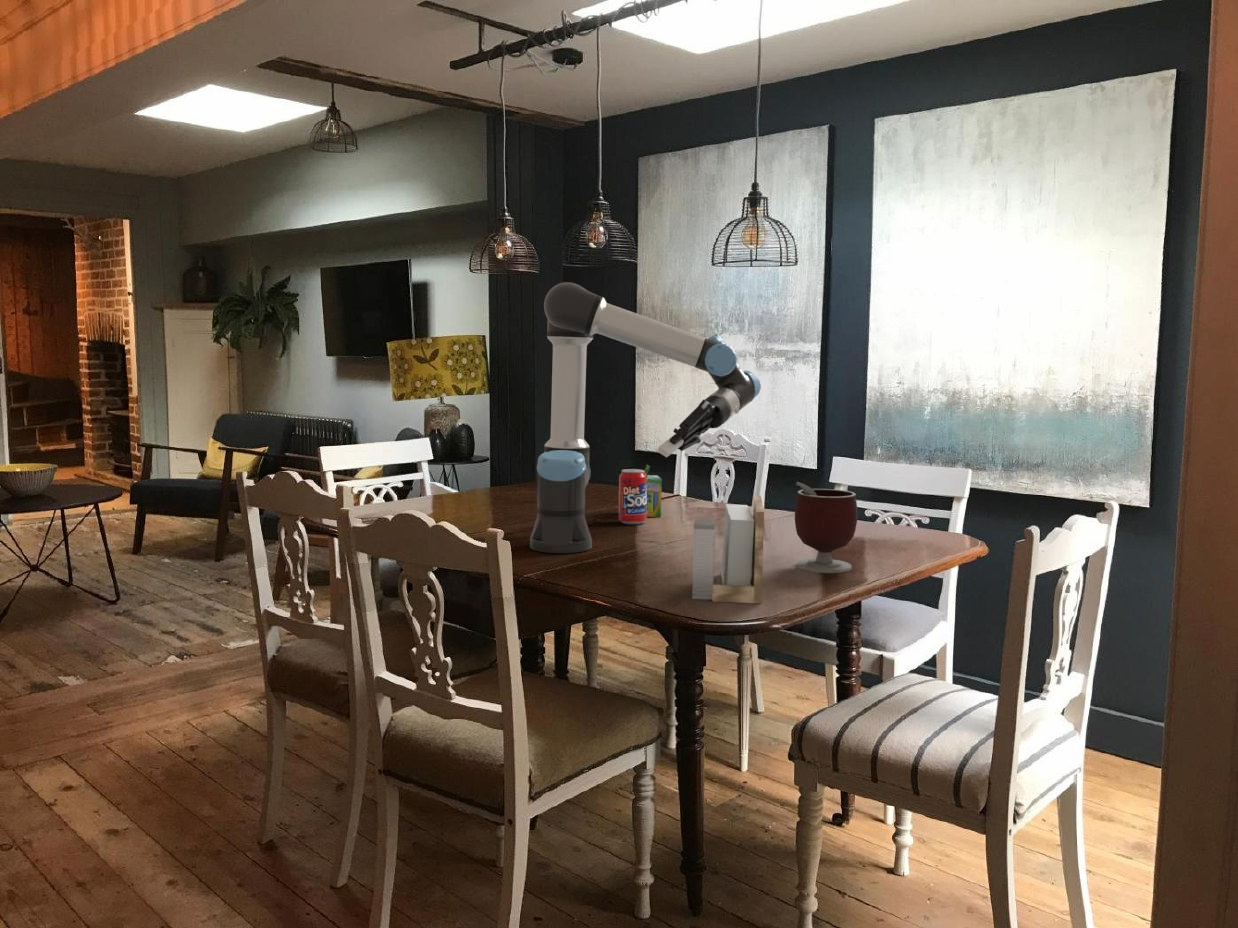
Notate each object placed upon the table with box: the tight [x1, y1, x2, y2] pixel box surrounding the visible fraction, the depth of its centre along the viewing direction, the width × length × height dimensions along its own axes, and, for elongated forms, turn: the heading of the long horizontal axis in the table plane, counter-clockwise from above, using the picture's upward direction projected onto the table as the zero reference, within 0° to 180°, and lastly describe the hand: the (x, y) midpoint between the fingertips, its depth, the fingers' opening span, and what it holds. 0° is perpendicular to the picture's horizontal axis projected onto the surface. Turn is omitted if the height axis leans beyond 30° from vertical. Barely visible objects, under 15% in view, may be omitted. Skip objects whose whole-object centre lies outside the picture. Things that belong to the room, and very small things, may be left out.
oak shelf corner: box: [712, 494, 765, 604], centre depth 204 cm, size 10×22×18 cm, turn 174°
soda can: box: [618, 468, 648, 526], centre depth 281 cm, size 8×8×15 cm
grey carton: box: [691, 517, 716, 601], centre depth 200 cm, size 4×8×15 cm, turn 174°
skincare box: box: [720, 503, 755, 586], centre depth 207 cm, size 21×5×16 cm, turn 177°
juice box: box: [644, 464, 663, 518], centre depth 294 cm, size 9×9×15 cm
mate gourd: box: [794, 481, 858, 574], centre depth 226 cm, size 16×14×20 cm
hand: (662, 452), depth 232 cm, fingers closed
